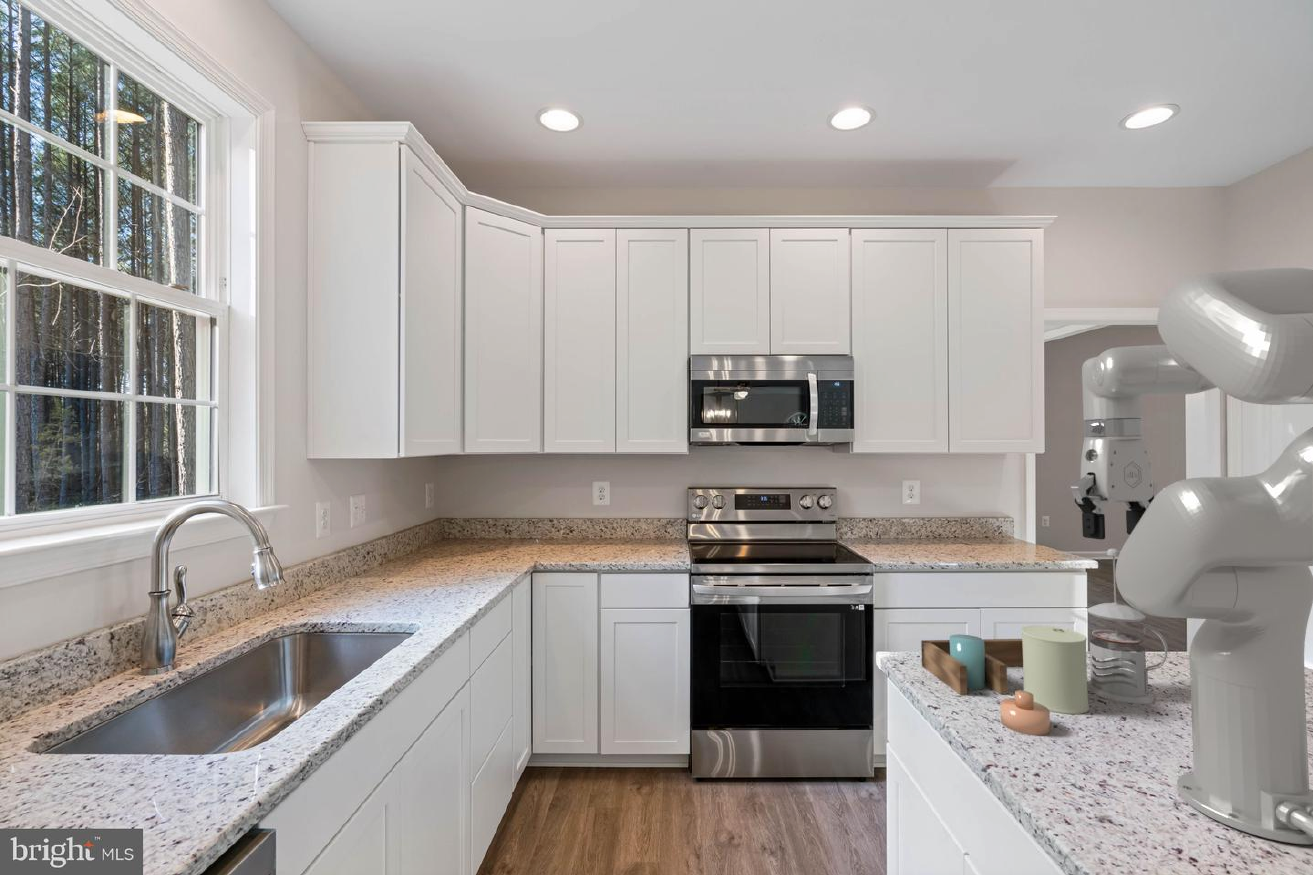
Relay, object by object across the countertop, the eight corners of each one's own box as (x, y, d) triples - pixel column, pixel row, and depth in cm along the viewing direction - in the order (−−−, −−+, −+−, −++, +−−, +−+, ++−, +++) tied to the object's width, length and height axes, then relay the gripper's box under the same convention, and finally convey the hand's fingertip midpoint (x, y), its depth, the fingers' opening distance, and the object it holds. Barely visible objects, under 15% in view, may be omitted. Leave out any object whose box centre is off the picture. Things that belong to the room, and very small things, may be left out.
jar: (992, 689, 103) (990, 643, 103) (961, 689, 103) (960, 644, 103) (974, 677, 109) (973, 634, 109) (944, 677, 109) (943, 634, 109)
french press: (1088, 676, 109) (1084, 542, 109) (1171, 694, 100) (1166, 549, 101) (1078, 692, 102) (1074, 549, 102) (1166, 712, 93) (1161, 556, 94)
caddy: (1081, 692, 101) (1080, 663, 101) (960, 694, 101) (959, 665, 101) (1028, 663, 115) (1027, 638, 115) (921, 665, 115) (921, 640, 115)
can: (1092, 701, 98) (1090, 629, 98) (1085, 719, 91) (1082, 642, 92) (1029, 686, 104) (1027, 619, 105) (1017, 703, 97) (1015, 631, 98)
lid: (1060, 736, 86) (1059, 701, 86) (1018, 736, 86) (1017, 702, 86) (1031, 716, 93) (1030, 685, 93) (992, 717, 93) (991, 685, 93)
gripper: (1096, 430, 88) (1100, 542, 88) (1176, 430, 93) (1180, 537, 93) (1050, 432, 96) (1053, 536, 95) (1127, 432, 100) (1130, 531, 100)
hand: (1116, 536), depth 94 cm, fingers open, 9 cm apart
